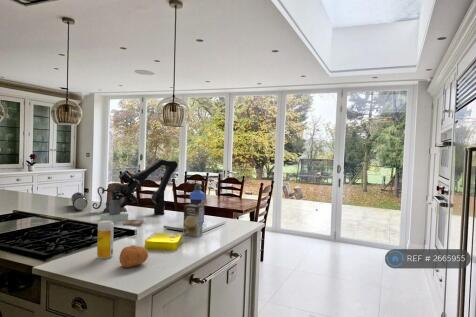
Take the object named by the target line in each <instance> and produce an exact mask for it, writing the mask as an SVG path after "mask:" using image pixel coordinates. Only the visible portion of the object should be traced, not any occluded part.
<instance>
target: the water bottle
mask: <svg viewBox="0 0 476 317" xmlns="http://www.w3.org/2000/svg"><path fill="white" fill-rule="evenodd" d="M201 186H202V185H201V184H200V183H196V184H195V185H194V187H193V188H194V190H193V191H191V192H190V193H189V199H190V202H189V204H194V205H203V223H204V224H205V199H206V193H205V191H204V192H203V191H202V187H201Z"/></svg>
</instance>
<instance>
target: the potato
mask: <svg viewBox="0 0 476 317" xmlns="http://www.w3.org/2000/svg"><path fill="white" fill-rule="evenodd" d="M148 258H149V252H148V250H147V249H145V247H143V246H138V245H132V244H131V245H129V246H124V247H123V248H122V249H121V251H120V255H119V258H118V260H119V264H120V265H122V267H124V268H132V267H135V266H137V265H140V264H143V263H145V262H146V260H147V259H148Z"/></svg>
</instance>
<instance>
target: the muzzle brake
mask: <svg viewBox="0 0 476 317" xmlns="http://www.w3.org/2000/svg"><path fill="white" fill-rule="evenodd" d="M71 202H72V206H73V208H74V209H75V210H78V211H82V210H85V209H86V207H87V206H88V200H87V198H86V197H85V195H84V194H83V193H82V192H74V193H73V194H72V195H71Z"/></svg>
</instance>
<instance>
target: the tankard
mask: <svg viewBox="0 0 476 317" xmlns="http://www.w3.org/2000/svg"><path fill="white" fill-rule="evenodd" d="M107 184H108V185H107V187H106V189H105V188H104V187H103V186H99V187H98V188H97V189H96V190H97V194H98V195H99V199H100V200H99V204H98V203H96V202H93V203H92V208H93V209H94V210H98V209H100V208H101V206H102V203H103V199H102V198H103V197H102V195H103V194H105V192H106V200H105V208H104V209H103V211H102V214H106V213H109V201H111V200H112V199H113V196H112V194H111V193H112V192H113V191H117V192H119V190H116V189H115V188H116V186H117V184H118V185H124V183H119V182H111V183H107ZM100 189H101V190H102V192H100ZM101 194H102V195H101ZM119 194H121V193H120V192H119ZM124 200H125V198H122V197H121V199H120V206H121V205H122V203H123V202H124ZM120 212H121V213H127V212H128V210H127V208H126V206H125V207H123V208H120Z"/></svg>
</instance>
